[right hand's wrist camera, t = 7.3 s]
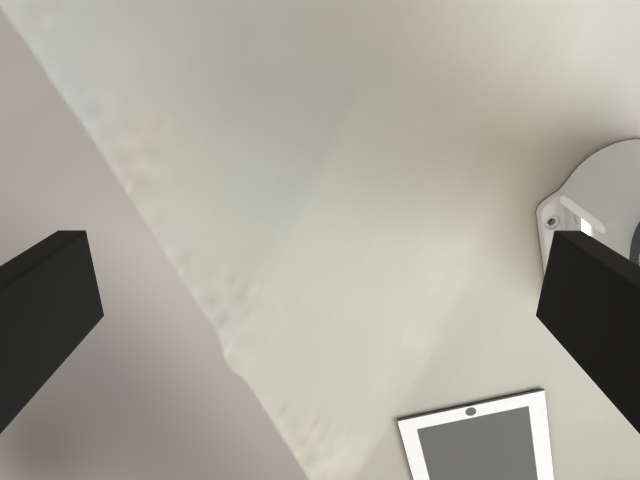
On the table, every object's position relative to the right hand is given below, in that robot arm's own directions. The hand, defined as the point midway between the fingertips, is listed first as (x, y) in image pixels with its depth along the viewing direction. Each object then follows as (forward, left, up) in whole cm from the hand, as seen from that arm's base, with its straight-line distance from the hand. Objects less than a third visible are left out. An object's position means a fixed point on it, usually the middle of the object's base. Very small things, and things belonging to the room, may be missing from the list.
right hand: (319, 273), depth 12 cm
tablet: (+53, +25, -36) cm, 68 cm away
